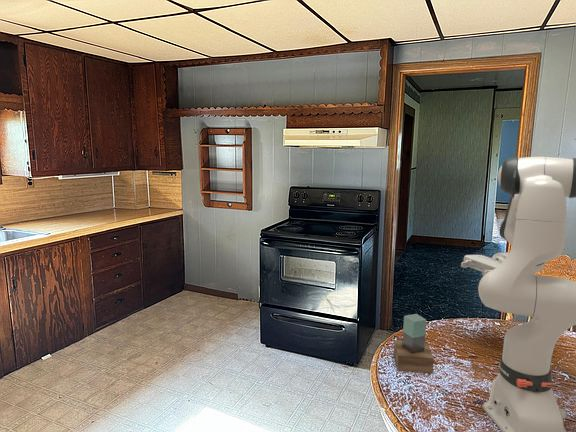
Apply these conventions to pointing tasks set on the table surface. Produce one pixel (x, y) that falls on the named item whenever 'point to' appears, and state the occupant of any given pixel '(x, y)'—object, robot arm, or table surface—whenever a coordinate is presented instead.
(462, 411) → the table surface
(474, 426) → the table surface
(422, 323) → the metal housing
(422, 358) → the walnut stand
